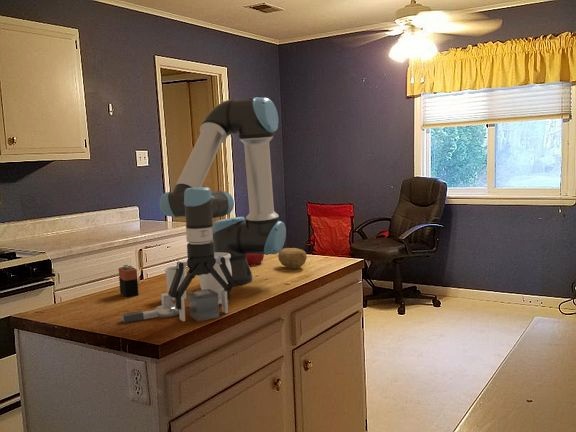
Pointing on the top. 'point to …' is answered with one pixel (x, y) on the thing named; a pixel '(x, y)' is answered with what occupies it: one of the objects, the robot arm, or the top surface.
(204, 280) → the jar
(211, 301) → the grey rounded cube
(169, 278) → the white pillar candle
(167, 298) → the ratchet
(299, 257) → the potato
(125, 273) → the battery
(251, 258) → the pomegranate
